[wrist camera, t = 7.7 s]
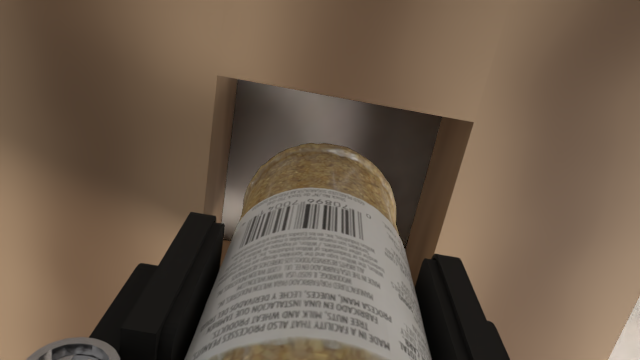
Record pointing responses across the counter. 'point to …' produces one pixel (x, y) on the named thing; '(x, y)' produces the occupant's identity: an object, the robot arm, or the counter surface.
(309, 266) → the sprinkles bottle
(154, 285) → the robot arm
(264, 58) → the spice holder
